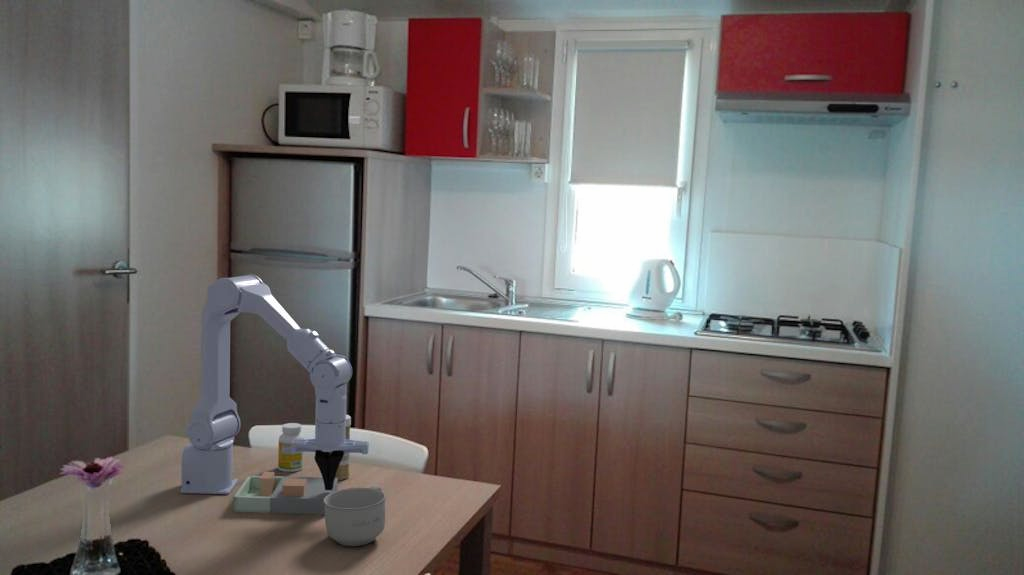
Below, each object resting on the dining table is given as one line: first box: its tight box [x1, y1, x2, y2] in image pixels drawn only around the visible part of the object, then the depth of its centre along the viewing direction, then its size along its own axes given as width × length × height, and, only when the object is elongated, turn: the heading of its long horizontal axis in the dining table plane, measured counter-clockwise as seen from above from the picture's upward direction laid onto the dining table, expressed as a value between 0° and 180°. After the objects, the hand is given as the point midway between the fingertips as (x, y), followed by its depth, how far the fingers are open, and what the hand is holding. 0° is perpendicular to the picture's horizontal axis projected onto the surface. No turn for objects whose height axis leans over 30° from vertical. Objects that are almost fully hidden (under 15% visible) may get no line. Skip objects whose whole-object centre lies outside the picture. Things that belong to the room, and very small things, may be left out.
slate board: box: [269, 476, 339, 515], centre depth 167 cm, size 11×12×3 cm
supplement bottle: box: [277, 422, 305, 473], centre depth 186 cm, size 5×5×10 cm
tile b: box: [282, 478, 307, 496], centre depth 164 cm, size 4×4×2 cm
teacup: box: [324, 485, 387, 547], centre depth 152 cm, size 14×11×8 cm
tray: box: [232, 475, 283, 514], centre depth 167 cm, size 7×12×3 cm, turn 4°
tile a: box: [259, 471, 275, 497], centre depth 169 cm, size 4×4×2 cm
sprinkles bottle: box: [335, 414, 352, 481], centre depth 182 cm, size 5×5×13 cm
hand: (329, 488), depth 165 cm, fingers closed
